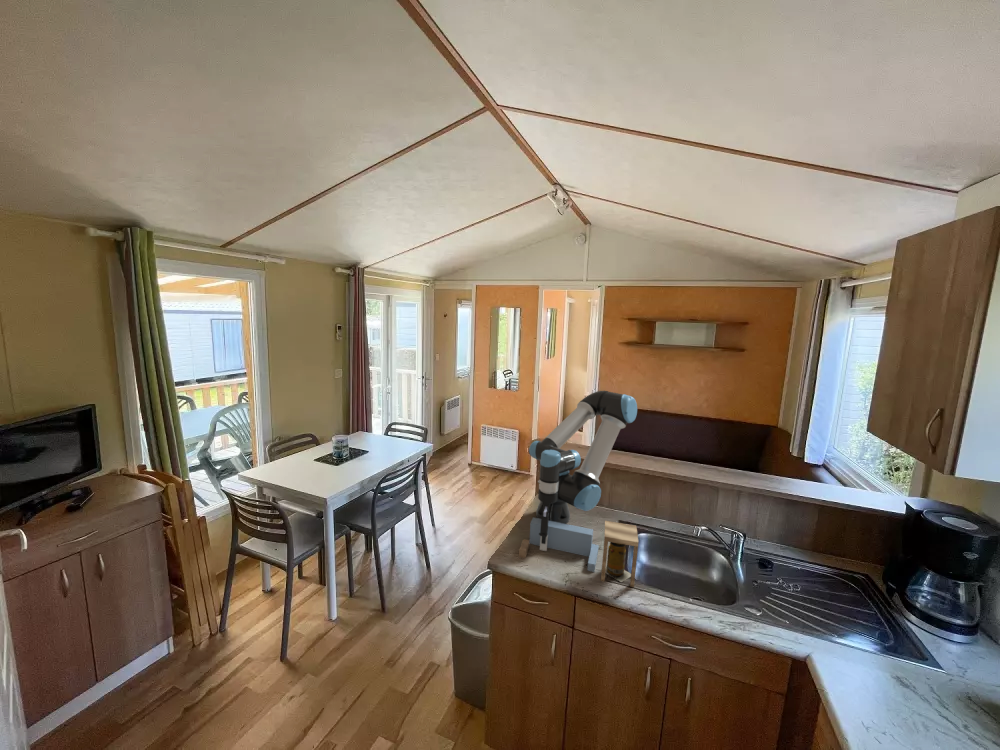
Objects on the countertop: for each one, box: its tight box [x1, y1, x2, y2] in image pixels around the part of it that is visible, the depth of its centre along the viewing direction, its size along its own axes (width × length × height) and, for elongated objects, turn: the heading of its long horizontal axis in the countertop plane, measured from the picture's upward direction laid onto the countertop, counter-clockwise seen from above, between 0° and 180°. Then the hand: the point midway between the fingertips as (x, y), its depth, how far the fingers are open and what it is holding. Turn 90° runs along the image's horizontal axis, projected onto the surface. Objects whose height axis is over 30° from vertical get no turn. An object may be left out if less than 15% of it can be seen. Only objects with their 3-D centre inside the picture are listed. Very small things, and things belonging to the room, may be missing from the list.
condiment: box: [600, 542, 631, 583], centre depth 147 cm, size 7×8×12 cm
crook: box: [529, 516, 600, 573], centre depth 158 cm, size 14×26×9 cm, turn 71°
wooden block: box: [518, 538, 530, 559], centre depth 159 cm, size 8×2×3 cm, turn 166°
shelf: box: [600, 520, 639, 588], centre depth 146 cm, size 12×11×17 cm
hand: (544, 544), depth 164 cm, fingers open, 7 cm apart
